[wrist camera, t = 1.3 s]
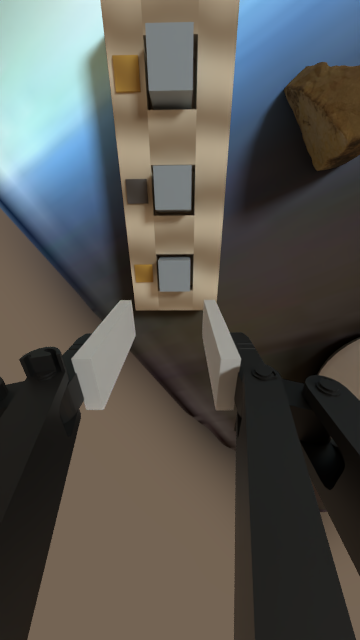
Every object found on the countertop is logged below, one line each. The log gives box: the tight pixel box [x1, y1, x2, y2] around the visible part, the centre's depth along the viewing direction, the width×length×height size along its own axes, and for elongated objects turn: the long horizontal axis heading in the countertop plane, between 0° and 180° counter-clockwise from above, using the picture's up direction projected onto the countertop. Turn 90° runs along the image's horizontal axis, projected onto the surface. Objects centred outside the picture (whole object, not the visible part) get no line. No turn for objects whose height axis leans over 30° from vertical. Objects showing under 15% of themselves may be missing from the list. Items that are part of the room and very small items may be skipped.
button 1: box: [145, 22, 194, 110], centre depth 19 cm, size 4×4×3 cm
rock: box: [284, 62, 360, 171], centre depth 20 cm, size 11×9×10 cm
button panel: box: [101, 0, 239, 310], centre depth 25 cm, size 30×12×4 cm, turn 0°
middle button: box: [153, 165, 192, 212], centre depth 23 cm, size 4×4×3 cm
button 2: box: [158, 257, 190, 292], centre depth 27 cm, size 4×4×3 cm
